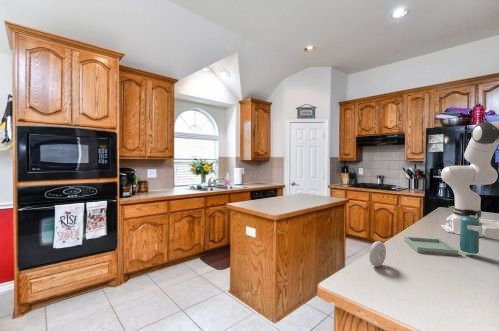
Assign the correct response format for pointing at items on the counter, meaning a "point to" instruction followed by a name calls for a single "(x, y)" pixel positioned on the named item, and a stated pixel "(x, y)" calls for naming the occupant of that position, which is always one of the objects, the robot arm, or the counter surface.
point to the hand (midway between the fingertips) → (466, 224)
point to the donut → (377, 253)
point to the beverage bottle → (469, 233)
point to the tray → (430, 246)
